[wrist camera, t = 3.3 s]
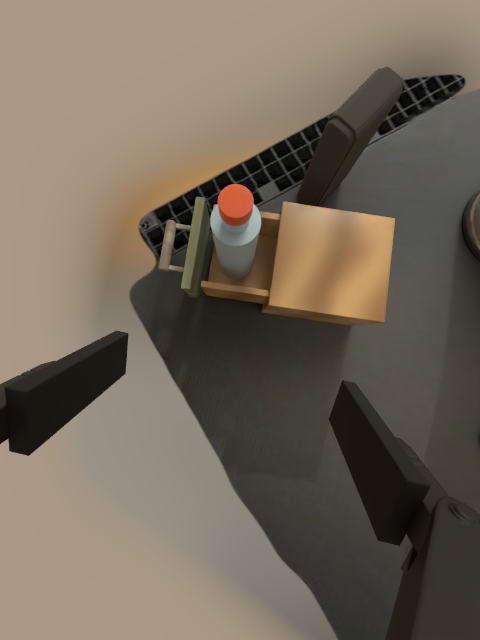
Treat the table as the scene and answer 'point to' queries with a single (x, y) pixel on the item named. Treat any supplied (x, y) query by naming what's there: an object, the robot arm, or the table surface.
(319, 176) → the card reader
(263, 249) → the drawer
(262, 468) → the table surface
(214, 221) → the bottle
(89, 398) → the robot arm
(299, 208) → the cabinet
